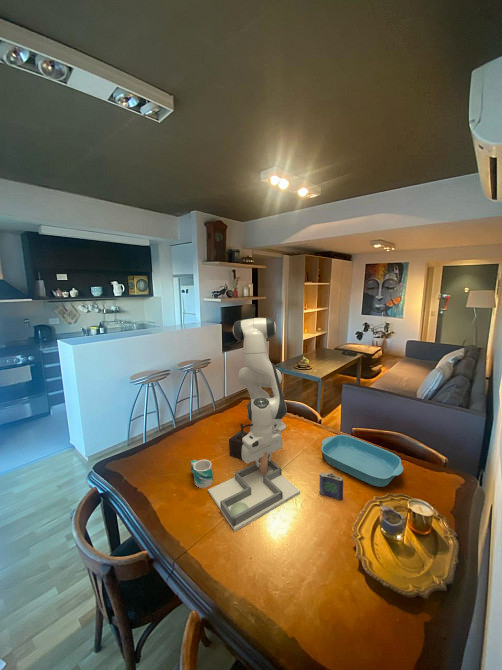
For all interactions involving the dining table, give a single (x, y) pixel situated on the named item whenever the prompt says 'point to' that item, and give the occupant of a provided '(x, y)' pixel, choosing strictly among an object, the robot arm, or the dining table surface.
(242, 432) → the coffee grinder
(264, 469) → the peg
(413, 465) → the dining table surface
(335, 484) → the flask
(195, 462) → the mug
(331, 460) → the casserole dish
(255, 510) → the channel
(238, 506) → the pad
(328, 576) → the dining table surface
